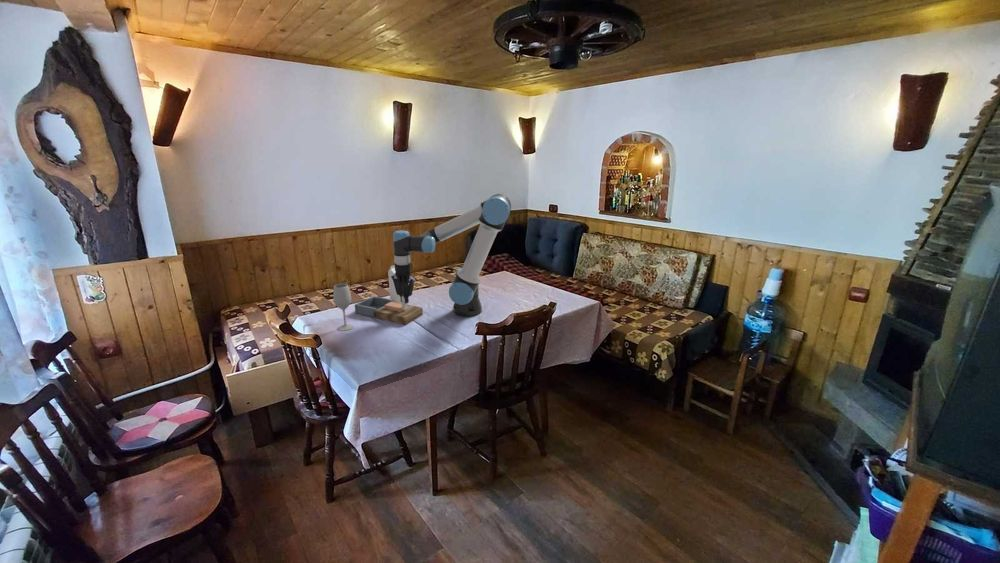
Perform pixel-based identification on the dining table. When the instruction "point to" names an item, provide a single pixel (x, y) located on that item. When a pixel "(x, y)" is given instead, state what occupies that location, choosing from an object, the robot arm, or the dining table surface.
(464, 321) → the dining table surface
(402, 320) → the board
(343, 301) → the wineglass
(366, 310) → the tray
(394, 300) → the milk
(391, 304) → the tile
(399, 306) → the tile
